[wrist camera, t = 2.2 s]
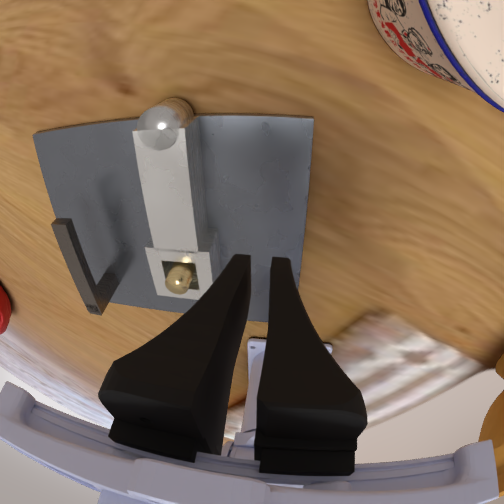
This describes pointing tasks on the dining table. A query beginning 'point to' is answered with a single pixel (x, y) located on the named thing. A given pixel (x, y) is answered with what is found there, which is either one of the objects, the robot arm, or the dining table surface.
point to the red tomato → (4, 310)
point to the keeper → (83, 269)
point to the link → (175, 196)
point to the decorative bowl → (496, 429)
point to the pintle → (180, 277)
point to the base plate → (216, 196)
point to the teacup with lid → (448, 40)
